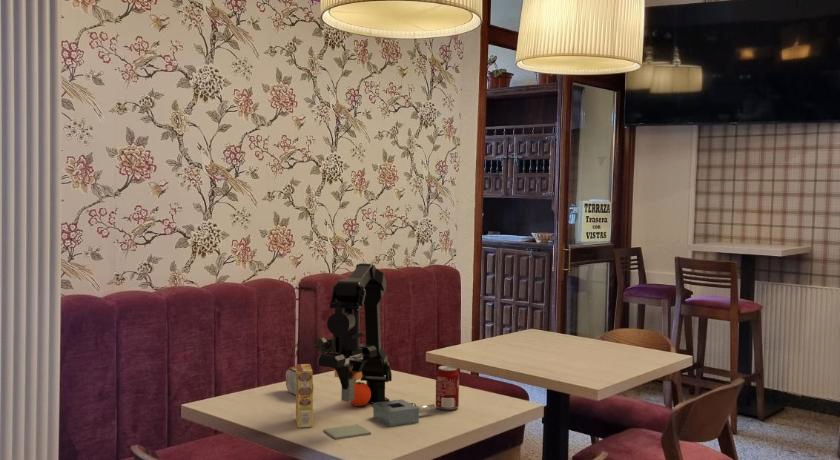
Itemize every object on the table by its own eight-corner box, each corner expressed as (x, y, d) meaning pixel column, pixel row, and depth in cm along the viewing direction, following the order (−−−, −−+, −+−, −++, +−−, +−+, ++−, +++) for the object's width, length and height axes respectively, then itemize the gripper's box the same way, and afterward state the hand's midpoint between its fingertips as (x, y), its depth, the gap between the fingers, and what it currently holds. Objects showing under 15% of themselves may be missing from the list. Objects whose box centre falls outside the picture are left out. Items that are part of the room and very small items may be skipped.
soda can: (456, 412, 231) (457, 370, 230) (433, 410, 232) (434, 369, 232) (460, 406, 238) (460, 366, 237) (437, 404, 239) (438, 364, 238)
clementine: (343, 403, 239) (343, 379, 238) (365, 401, 241) (365, 377, 241) (351, 409, 231) (352, 385, 231) (374, 407, 234) (374, 383, 234)
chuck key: (339, 397, 212) (340, 368, 212) (361, 401, 208) (361, 371, 208) (334, 399, 210) (334, 369, 209) (356, 403, 206) (356, 373, 206)
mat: (323, 430, 211) (323, 429, 210) (357, 426, 215) (358, 424, 215) (335, 439, 204) (335, 437, 204) (370, 434, 208) (370, 432, 208)
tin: (314, 400, 241) (314, 373, 240) (304, 402, 239) (305, 374, 239) (292, 390, 253) (292, 363, 253) (283, 391, 251) (283, 364, 251)
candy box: (313, 427, 214) (313, 370, 213) (297, 428, 213) (297, 371, 212) (310, 418, 222) (310, 363, 221) (294, 418, 221) (295, 364, 220)
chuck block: (373, 417, 224) (373, 402, 224) (424, 410, 232) (425, 396, 232) (389, 426, 216) (389, 411, 215) (442, 418, 224) (442, 404, 224)
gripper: (344, 321, 220) (343, 377, 221) (301, 330, 204) (300, 391, 205) (378, 325, 215) (377, 382, 215) (336, 335, 199) (335, 397, 199)
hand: (347, 388), depth 209 cm, fingers closed on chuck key, 2 cm apart
